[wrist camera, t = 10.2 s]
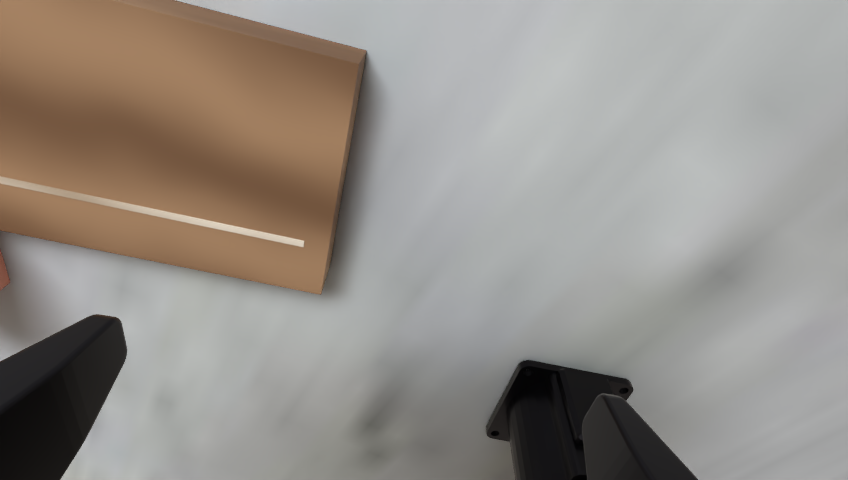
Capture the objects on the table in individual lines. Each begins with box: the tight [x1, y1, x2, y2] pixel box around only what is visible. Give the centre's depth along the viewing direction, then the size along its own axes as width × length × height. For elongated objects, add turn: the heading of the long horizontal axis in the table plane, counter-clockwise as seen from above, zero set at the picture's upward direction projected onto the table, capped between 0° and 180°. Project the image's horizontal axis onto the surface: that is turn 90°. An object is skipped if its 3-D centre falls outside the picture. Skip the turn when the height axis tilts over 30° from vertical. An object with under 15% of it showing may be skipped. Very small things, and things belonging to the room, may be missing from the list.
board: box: [0, 0, 366, 295], centre depth 18 cm, size 10×20×2 cm, turn 76°
